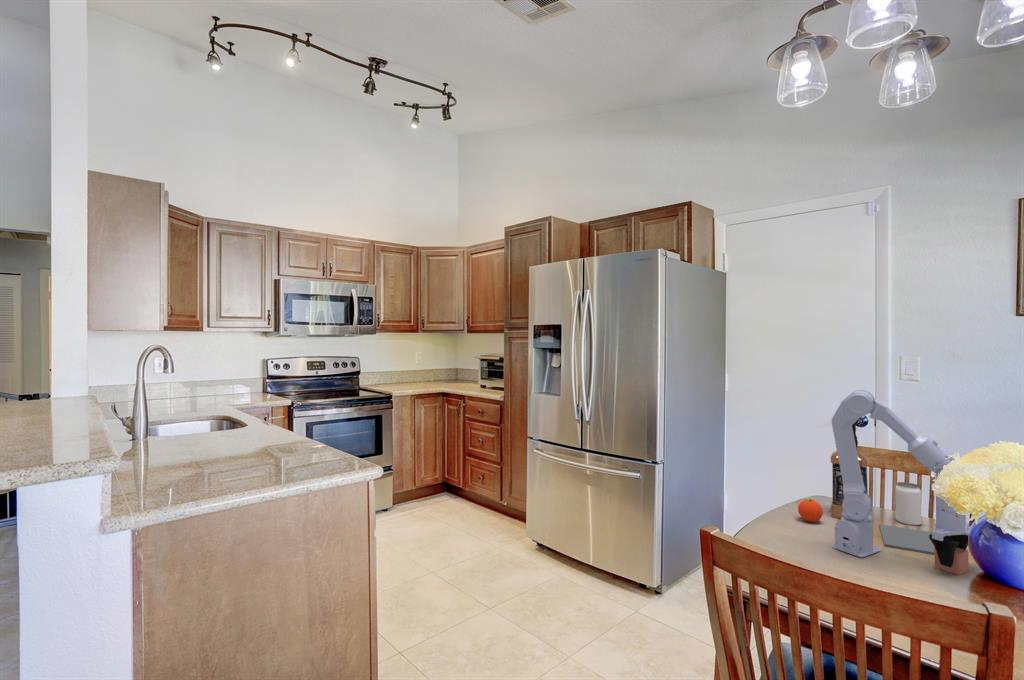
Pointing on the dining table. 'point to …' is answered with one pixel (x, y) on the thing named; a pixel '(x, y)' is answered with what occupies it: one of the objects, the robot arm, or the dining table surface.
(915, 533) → the slate mat
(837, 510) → the whiskey bottle
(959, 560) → the brick cube
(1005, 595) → the dining table surface
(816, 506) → the clementine
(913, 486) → the can
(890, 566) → the dining table surface
